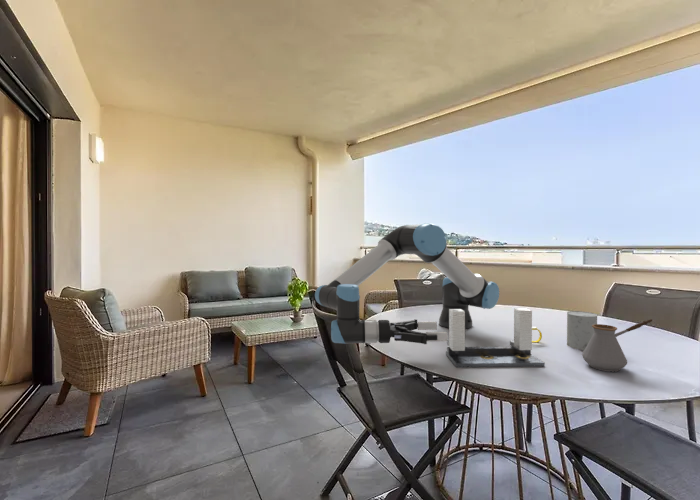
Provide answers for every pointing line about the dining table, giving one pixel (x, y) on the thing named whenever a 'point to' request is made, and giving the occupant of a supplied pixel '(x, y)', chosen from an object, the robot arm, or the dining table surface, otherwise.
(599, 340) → the coffee pot
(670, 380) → the dining table surface
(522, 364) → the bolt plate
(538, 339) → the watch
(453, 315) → the block
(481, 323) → the dining table surface
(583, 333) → the grey concrete cylinder
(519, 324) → the fixed leg
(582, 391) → the dining table surface
